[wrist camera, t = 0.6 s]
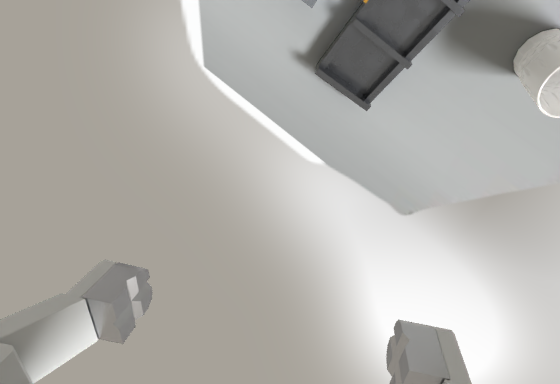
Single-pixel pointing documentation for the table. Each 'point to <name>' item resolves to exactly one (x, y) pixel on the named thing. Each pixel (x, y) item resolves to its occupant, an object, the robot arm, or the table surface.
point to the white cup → (541, 70)
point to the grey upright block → (310, 2)
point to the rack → (382, 44)
